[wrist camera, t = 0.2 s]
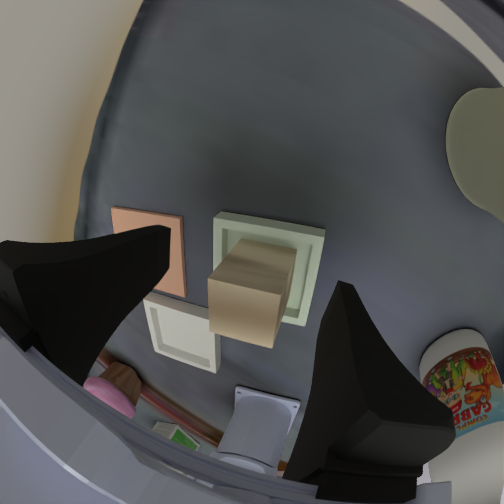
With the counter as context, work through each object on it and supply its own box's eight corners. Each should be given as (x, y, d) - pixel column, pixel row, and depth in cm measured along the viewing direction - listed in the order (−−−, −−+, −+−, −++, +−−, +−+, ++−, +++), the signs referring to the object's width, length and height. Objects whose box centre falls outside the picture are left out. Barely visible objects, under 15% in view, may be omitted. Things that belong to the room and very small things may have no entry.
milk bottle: (495, 339, 18) (535, 514, 1) (448, 385, 22) (456, 547, 5) (454, 315, 19) (494, 539, 2) (403, 368, 23) (395, 563, 6)
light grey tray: (220, 364, 30) (216, 373, 28) (160, 343, 32) (154, 351, 30) (220, 311, 26) (214, 321, 25) (150, 291, 28) (143, 299, 26)
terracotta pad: (187, 294, 26) (184, 297, 26) (124, 275, 28) (122, 278, 28) (182, 216, 23) (179, 218, 22) (114, 206, 24) (110, 207, 24)
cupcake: (101, 347, 38) (65, 387, 30) (138, 357, 35) (99, 406, 27) (125, 383, 42) (95, 422, 33) (161, 395, 39) (131, 440, 30)
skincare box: (201, 444, 45) (170, 503, 32) (178, 440, 48) (148, 493, 35) (176, 422, 43) (139, 485, 30) (154, 419, 46) (118, 475, 32)
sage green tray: (307, 315, 23) (304, 326, 22) (220, 295, 25) (213, 304, 24) (325, 229, 19) (324, 237, 18) (221, 211, 21) (213, 217, 20)
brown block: (289, 297, 22) (272, 348, 17) (237, 285, 23) (208, 331, 18) (297, 249, 20) (280, 295, 15) (239, 238, 21) (206, 277, 16)
